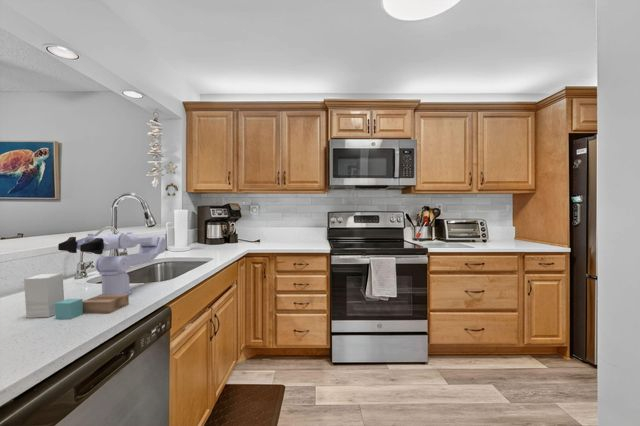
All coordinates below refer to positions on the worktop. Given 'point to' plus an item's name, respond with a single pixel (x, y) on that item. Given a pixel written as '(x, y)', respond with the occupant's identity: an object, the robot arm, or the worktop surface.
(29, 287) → the supplement box
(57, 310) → the teal cube
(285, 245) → the worktop surface
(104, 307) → the walnut block
